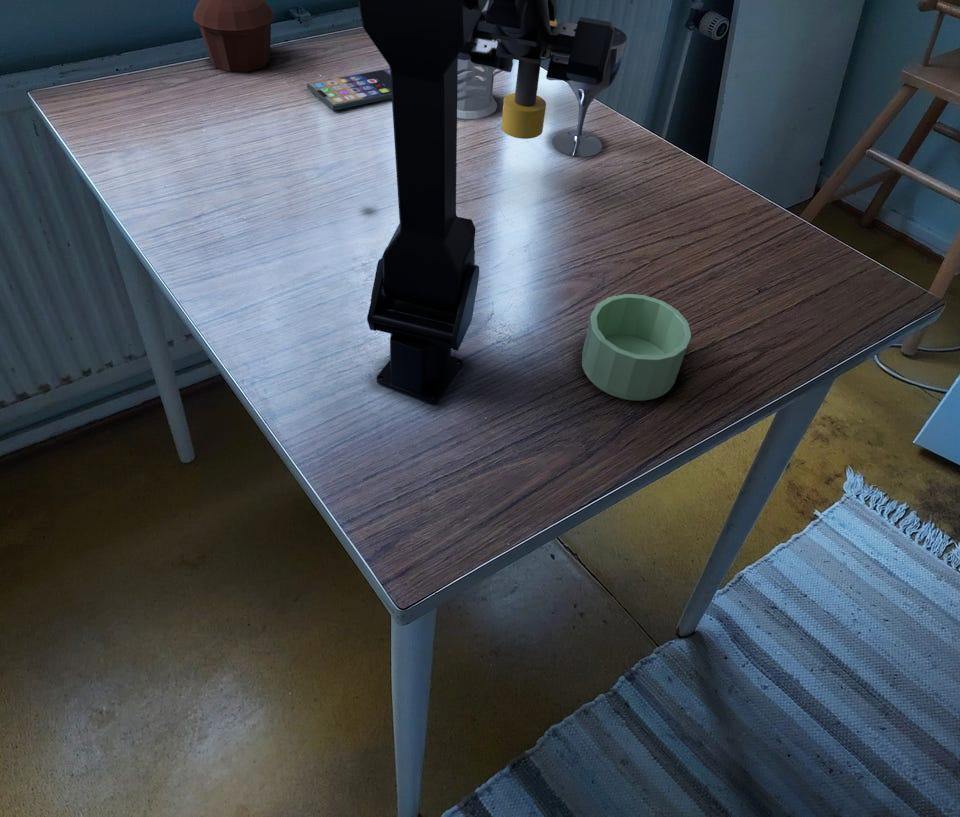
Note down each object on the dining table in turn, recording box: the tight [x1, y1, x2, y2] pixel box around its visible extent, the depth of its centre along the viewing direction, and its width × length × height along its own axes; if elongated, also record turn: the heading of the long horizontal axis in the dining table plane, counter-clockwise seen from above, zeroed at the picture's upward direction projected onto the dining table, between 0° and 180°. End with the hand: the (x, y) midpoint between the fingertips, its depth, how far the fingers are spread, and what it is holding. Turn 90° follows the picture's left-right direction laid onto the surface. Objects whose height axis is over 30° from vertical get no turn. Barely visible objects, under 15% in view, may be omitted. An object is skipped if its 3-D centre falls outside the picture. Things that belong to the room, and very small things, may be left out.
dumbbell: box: [501, 18, 558, 140], centre depth 93 cm, size 5×5×13 cm
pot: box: [581, 293, 692, 402], centre depth 77 cm, size 10×10×6 cm
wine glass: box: [551, 22, 628, 158], centre depth 105 cm, size 8×8×15 cm
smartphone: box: [306, 68, 392, 111], centre depth 117 cm, size 8×15×1 cm, turn 125°
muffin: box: [192, 0, 275, 73], centre depth 118 cm, size 12×11×10 cm
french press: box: [457, 0, 503, 120], centre depth 108 cm, size 10×12×25 cm
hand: (530, 72), depth 94 cm, fingers closed on dumbbell, 5 cm apart
